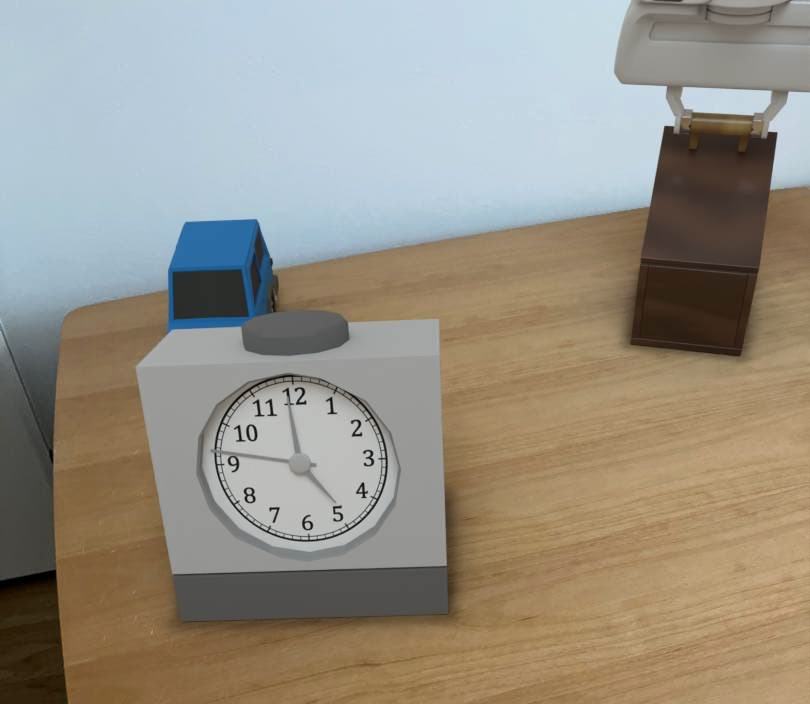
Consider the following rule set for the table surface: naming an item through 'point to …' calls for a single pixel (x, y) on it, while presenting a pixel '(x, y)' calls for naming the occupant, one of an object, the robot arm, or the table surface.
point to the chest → (692, 308)
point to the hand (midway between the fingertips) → (719, 134)
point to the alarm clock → (300, 466)
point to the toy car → (220, 275)
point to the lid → (710, 195)
